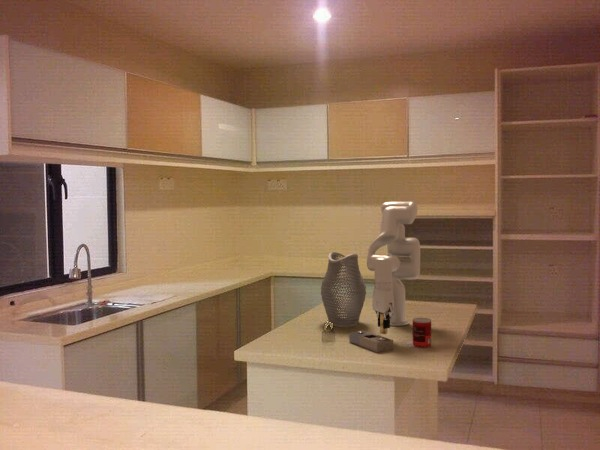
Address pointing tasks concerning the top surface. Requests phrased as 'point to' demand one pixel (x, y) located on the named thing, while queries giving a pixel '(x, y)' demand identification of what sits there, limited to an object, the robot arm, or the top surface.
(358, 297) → the vase
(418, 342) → the canned food
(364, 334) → the bolted slotted plate
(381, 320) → the pin
